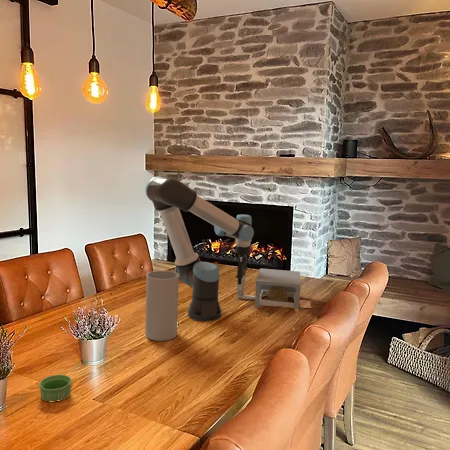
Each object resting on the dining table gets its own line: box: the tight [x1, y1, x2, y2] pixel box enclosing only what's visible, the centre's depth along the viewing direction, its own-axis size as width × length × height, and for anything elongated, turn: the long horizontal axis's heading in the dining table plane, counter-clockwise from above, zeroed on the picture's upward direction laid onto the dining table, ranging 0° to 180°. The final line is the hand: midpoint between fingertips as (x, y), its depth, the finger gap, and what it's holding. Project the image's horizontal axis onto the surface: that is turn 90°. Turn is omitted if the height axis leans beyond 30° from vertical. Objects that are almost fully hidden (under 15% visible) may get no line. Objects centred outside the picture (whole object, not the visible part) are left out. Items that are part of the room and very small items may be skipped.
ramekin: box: [38, 374, 73, 402], centre depth 133 cm, size 9×9×4 cm
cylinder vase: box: [144, 270, 180, 342], centre depth 178 cm, size 12×12×25 cm
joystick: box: [236, 269, 295, 307], centre depth 228 cm, size 30×18×15 cm, turn 81°
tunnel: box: [254, 268, 301, 310], centre depth 226 cm, size 28×25×14 cm
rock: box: [267, 286, 289, 302], centre depth 227 cm, size 10×11×10 cm
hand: (241, 286), depth 230 cm, fingers open, 13 cm apart
